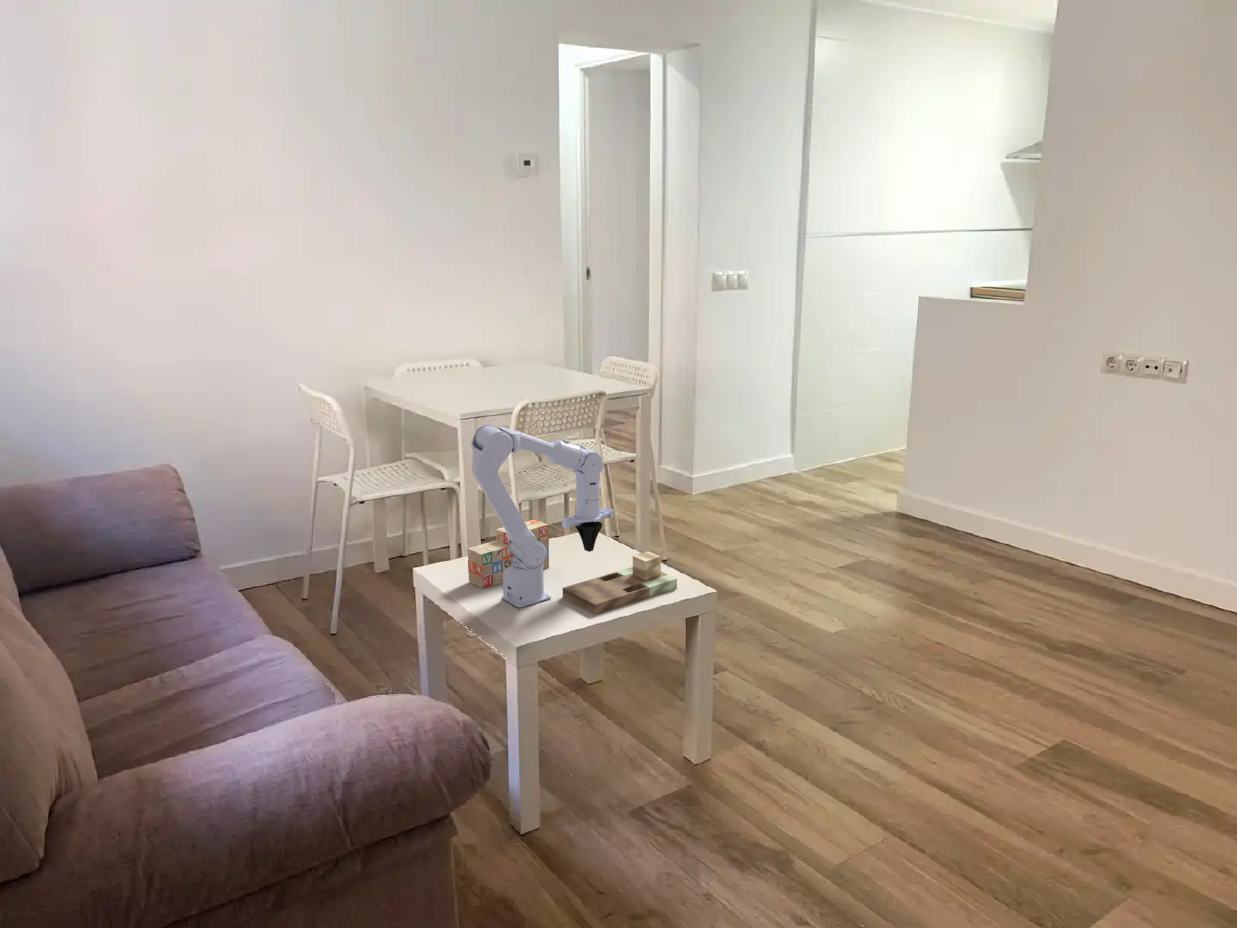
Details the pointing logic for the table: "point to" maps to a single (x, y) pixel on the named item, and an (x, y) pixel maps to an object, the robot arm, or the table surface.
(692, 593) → the table surface
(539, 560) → the robot arm
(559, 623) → the table surface
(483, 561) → the stack of blocks
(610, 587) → the trap board
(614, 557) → the table surface
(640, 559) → the maple block
